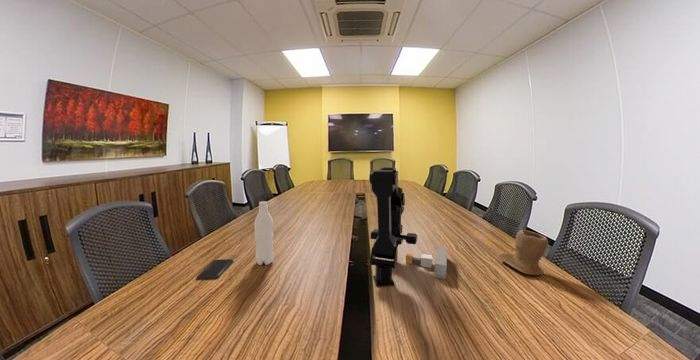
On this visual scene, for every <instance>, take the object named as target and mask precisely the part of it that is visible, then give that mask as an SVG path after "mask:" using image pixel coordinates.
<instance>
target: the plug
mask: <svg viewBox="0 0 700 360" xmlns="http://www.w3.org/2000/svg"><path fill="white" fill-rule="evenodd" d="M405 264H409V265H418V266H419V265H420V267H424V268H432V265H433V255H432V254H425V253H421V256H420V257H414V254H413V253H406V255H405Z"/></svg>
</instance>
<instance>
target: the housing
mask: <svg viewBox="0 0 700 360" xmlns="http://www.w3.org/2000/svg"><path fill="white" fill-rule="evenodd" d="M447 256H448V246H445V245H436V253H435V259H434V273H433V275H434V279H436V278H437V279H440V280H441V279H442V280H447V268H448V267H447V266H448V264H447V263H448V262H447V261H448V257H447Z"/></svg>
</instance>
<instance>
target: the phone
mask: <svg viewBox="0 0 700 360" xmlns="http://www.w3.org/2000/svg"><path fill="white" fill-rule="evenodd" d="M233 263H234V259H233V258H232V259H231V258H230V259H229V258H228V259H214V260H213V261H211V262H210V263H209V264H208V265H206V267H205V268H204V269H203V270H202V271H201V272H199V274H197V275H196V280H206V279H207V280H216V279H220V278H221V276H222V275H223V274H224V273H225V272H226V271H227V270H228V269H229V268H230V266H231V265H232V264H233Z"/></svg>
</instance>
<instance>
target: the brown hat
mask: <svg viewBox="0 0 700 360" xmlns="http://www.w3.org/2000/svg"><path fill="white" fill-rule="evenodd" d="M514 245H515V254H514V253H510V252H507V253H506V252H503V253H500V254H498V255H497V258H498V259H499V260H501V261H502V262H504V263H506V265H508V266H510V267H511V268H513V269H515V270H516V271H519V272H521V273H522V274H525V275H531V276H538V275H543V274H544V273H545V272H544V270H543V269H542V268H541V267H540V265H539V263H540V260H541V259H542V257H543V256H544V255H545V252H546V250H547V249H548V246H549V239H548V238H547V237H546V236H544V235H542V234H539V233H536V232H533V231H530V230H527V229H526V230H525V229H520V230H519V231H518V232H517V233H516V236H515V243H514Z"/></svg>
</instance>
